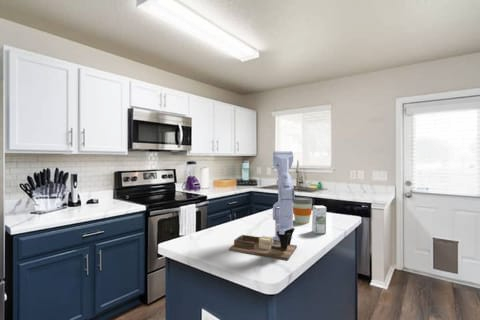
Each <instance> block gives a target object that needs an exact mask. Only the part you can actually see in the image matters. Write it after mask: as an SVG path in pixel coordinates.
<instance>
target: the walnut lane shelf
mask: <svg viewBox="0 0 480 320" xmlns="http://www.w3.org/2000/svg"><path fill="white" fill-rule="evenodd" d="M261 237H262V236H261ZM261 237H260V236H255V235H248V234H241V235H239V236H238V237H237V238H235V239H233V245H231V246H230V247H229V251H231V252H232V251H233V252H239V253H245V254H250V255H256V256H262V257H266V258H267V257H269V258H273V259H279V260H280V259H281V260H285V261H289V260H290V259H291V256H292V255H293V254H294V252H295V251H296V249H297V248H298V247H297V245H296V244H291V243H290V245H288V246H287V251H281V250H280V249H275V248H271V249H270V250H269V249H262V248H259V238H261ZM273 246H278V247H280V242H278V241H277V242H276V241H273Z"/></svg>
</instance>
